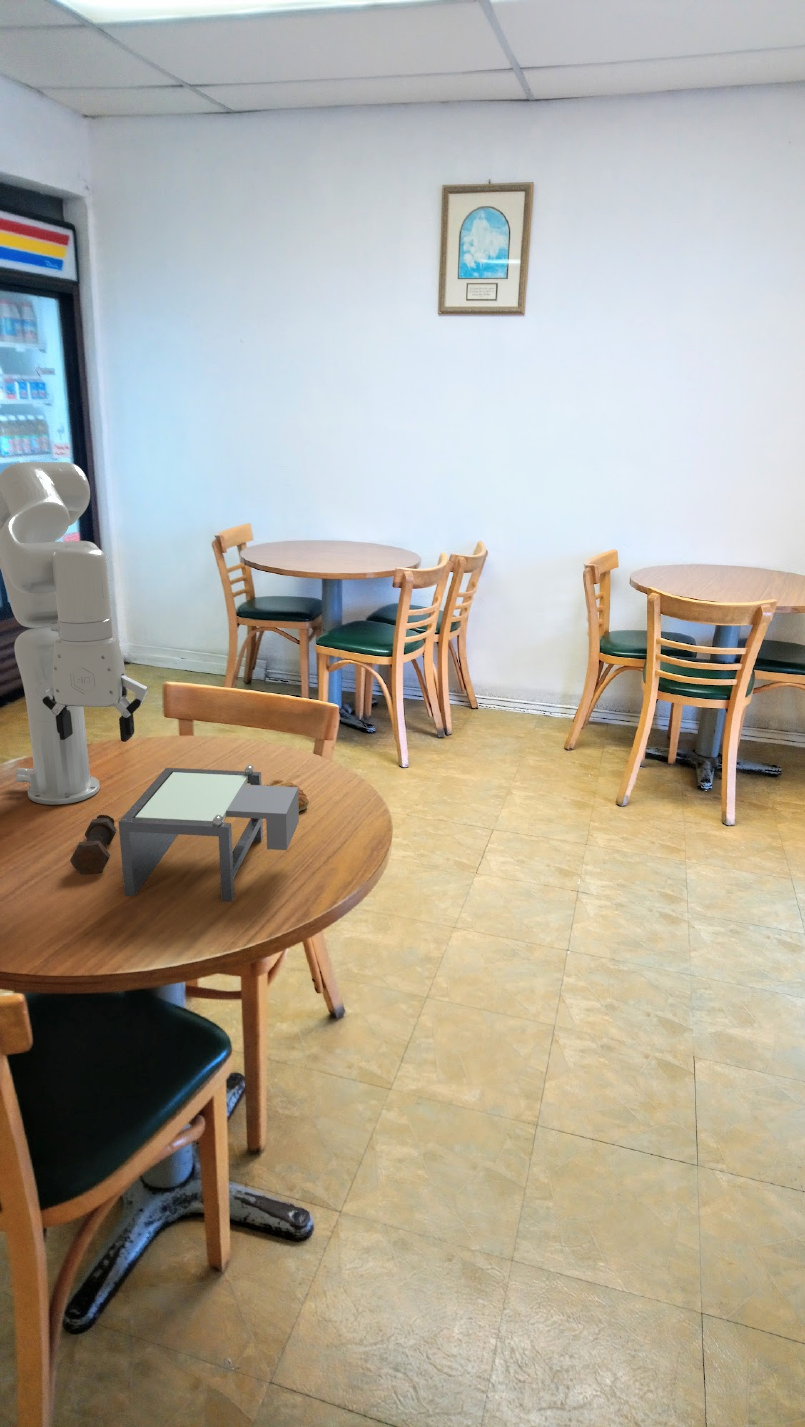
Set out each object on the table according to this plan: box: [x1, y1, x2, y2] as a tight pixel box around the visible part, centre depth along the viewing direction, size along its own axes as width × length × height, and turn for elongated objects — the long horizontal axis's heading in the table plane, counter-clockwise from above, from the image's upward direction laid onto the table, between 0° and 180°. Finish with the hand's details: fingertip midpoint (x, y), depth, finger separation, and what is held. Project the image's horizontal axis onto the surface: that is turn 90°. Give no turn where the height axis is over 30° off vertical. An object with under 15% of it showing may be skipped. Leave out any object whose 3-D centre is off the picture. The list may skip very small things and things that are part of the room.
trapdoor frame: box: [118, 764, 264, 903], centre depth 135 cm, size 16×21×13 cm
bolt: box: [69, 814, 118, 875], centre depth 140 cm, size 6×5×15 cm
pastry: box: [266, 779, 310, 812], centre depth 160 cm, size 9×7×4 cm
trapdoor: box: [135, 772, 300, 851], centre depth 134 cm, size 21×17×6 cm
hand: (96, 738), depth 136 cm, fingers open, 9 cm apart
